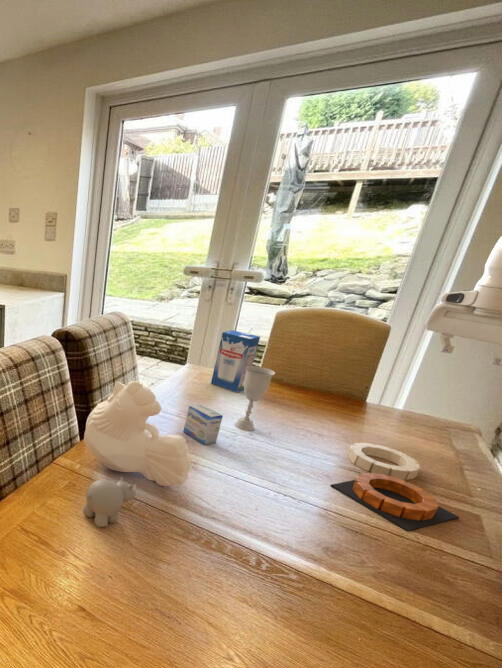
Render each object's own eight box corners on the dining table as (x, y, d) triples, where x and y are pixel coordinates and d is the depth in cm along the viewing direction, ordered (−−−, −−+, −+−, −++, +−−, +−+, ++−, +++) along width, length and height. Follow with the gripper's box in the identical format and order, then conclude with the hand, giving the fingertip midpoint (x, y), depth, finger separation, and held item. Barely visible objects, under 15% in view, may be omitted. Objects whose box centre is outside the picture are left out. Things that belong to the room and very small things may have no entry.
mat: (458, 518, 82) (459, 516, 81) (407, 531, 78) (408, 530, 78) (377, 476, 95) (377, 474, 95) (330, 486, 91) (330, 484, 91)
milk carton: (246, 389, 144) (260, 336, 137) (236, 392, 142) (250, 339, 134) (220, 380, 152) (232, 330, 145) (210, 383, 150) (222, 332, 142)
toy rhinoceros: (145, 517, 81) (152, 483, 78) (98, 534, 77) (103, 498, 74) (121, 496, 88) (127, 464, 84) (77, 511, 83) (80, 477, 80)
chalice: (264, 429, 116) (281, 373, 109) (247, 434, 114) (264, 376, 107) (241, 419, 122) (256, 364, 116) (225, 422, 120) (239, 367, 113)
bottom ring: (429, 475, 96) (433, 466, 95) (391, 483, 92) (395, 474, 92) (370, 448, 107) (373, 440, 106) (335, 454, 104) (338, 446, 103)
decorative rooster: (67, 425, 104) (99, 379, 82) (116, 405, 109) (158, 357, 87) (119, 515, 94) (170, 490, 72) (170, 489, 98) (233, 458, 77)
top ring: (448, 514, 82) (453, 504, 81) (404, 525, 79) (409, 515, 78) (379, 478, 94) (383, 469, 93) (338, 486, 91) (342, 477, 90)
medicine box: (182, 432, 115) (188, 405, 111) (194, 429, 116) (200, 403, 113) (204, 445, 108) (211, 417, 104) (216, 442, 109) (223, 414, 106)
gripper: (581, 308, 80) (545, 372, 85) (451, 292, 98) (427, 345, 103) (562, 310, 78) (527, 374, 83) (433, 293, 97) (410, 347, 102)
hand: (471, 358), depth 94 cm, fingers open, 8 cm apart
